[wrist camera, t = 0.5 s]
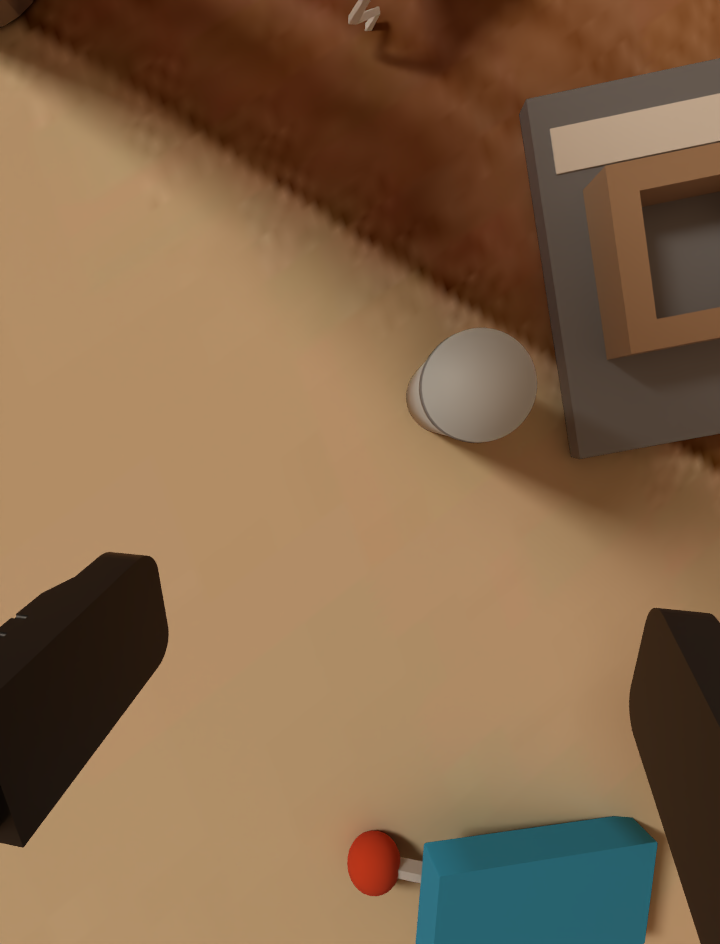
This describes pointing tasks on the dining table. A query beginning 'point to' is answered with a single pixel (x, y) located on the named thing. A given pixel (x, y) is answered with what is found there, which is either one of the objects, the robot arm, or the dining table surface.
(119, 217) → the dining table surface
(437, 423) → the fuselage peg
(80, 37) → the dining table surface
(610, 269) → the assembly jig
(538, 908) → the lever
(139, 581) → the robot arm
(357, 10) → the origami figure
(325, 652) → the dining table surface
